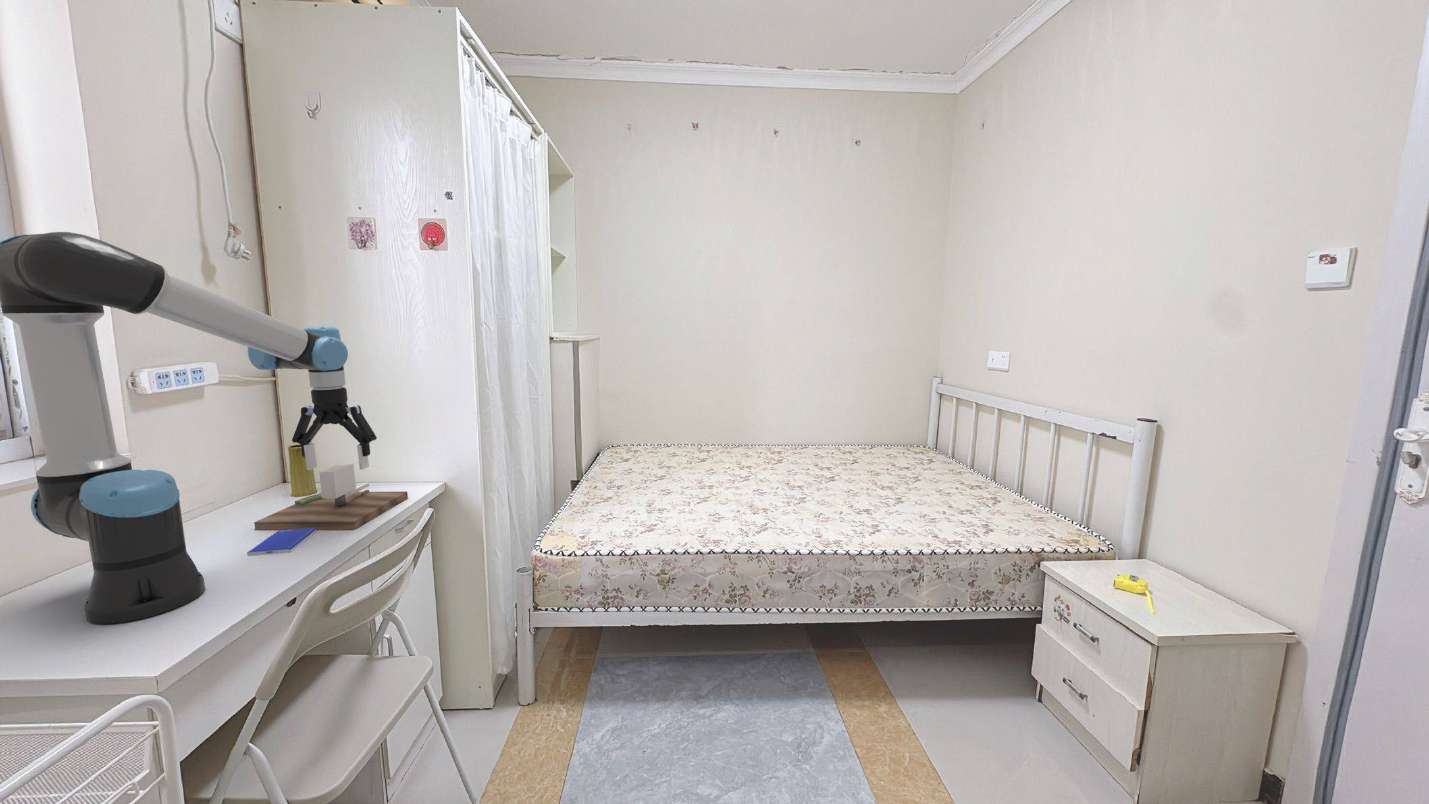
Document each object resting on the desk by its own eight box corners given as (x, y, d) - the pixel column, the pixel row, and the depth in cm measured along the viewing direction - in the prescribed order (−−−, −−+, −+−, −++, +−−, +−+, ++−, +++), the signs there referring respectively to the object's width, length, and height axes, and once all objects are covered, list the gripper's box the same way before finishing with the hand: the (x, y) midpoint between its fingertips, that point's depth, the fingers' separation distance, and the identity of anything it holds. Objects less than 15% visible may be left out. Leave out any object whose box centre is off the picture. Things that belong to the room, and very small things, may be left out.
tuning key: (337, 509, 143) (333, 471, 142) (323, 509, 143) (319, 471, 142) (373, 491, 159) (370, 456, 157) (360, 491, 159) (357, 456, 157)
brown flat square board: (354, 529, 136) (353, 517, 135) (255, 530, 136) (253, 518, 135) (407, 498, 159) (407, 488, 159) (323, 498, 159) (322, 488, 159)
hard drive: (277, 530, 133) (246, 551, 121) (316, 527, 135) (290, 547, 123) (277, 536, 133) (247, 558, 121) (316, 533, 135) (291, 554, 123)
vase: (309, 489, 168) (304, 442, 166) (321, 491, 166) (316, 444, 164) (286, 494, 163) (281, 446, 161) (298, 497, 160) (293, 448, 158)
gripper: (386, 385, 146) (394, 464, 150) (290, 386, 146) (300, 464, 150) (368, 389, 139) (377, 472, 142) (267, 390, 139) (279, 472, 142)
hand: (338, 468), depth 146 cm, fingers open, 13 cm apart
